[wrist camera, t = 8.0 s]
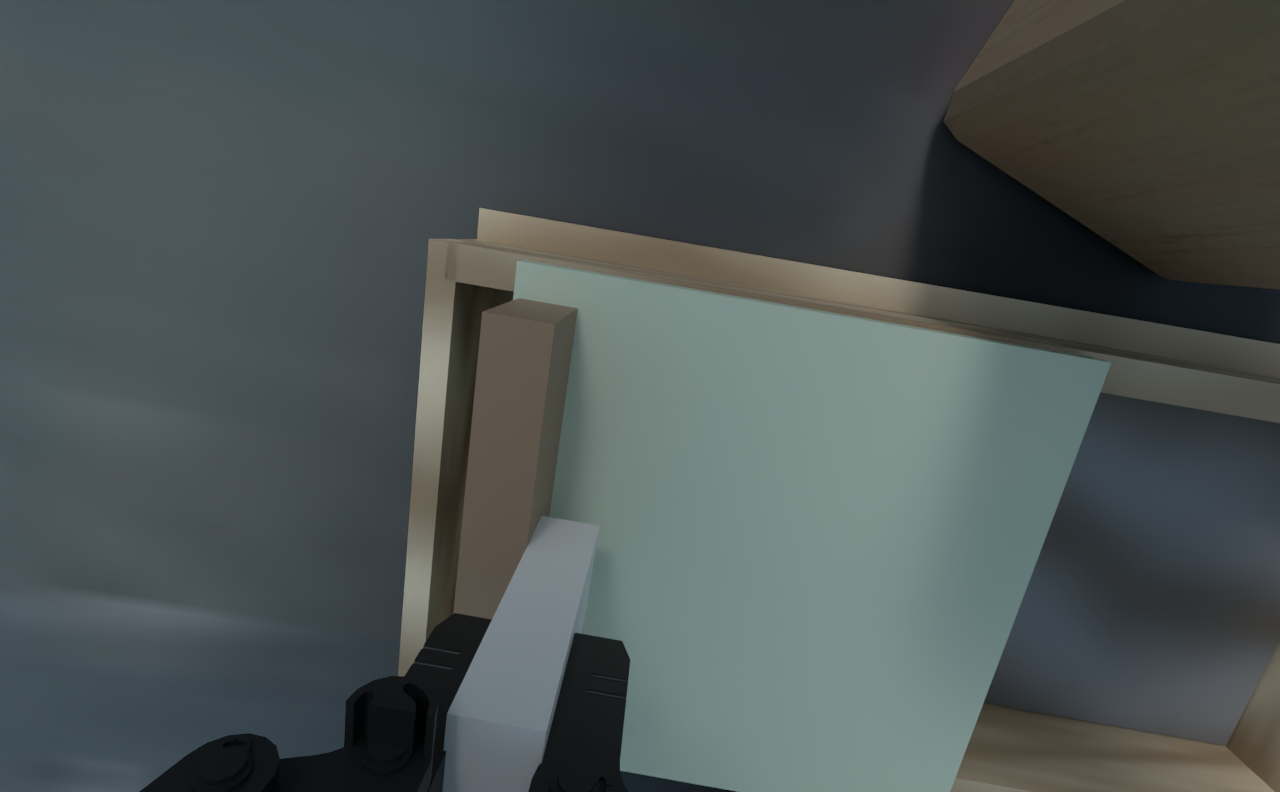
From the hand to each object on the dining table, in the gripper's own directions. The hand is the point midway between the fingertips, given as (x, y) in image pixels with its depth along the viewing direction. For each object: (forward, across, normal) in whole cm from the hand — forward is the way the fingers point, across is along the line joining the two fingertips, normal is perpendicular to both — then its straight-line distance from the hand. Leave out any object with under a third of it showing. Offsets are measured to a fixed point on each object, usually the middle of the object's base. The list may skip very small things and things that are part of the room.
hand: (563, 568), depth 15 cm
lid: (+2, +5, 0) cm, 5 cm away
